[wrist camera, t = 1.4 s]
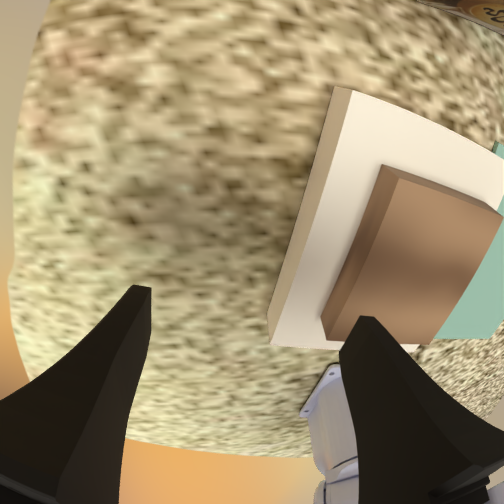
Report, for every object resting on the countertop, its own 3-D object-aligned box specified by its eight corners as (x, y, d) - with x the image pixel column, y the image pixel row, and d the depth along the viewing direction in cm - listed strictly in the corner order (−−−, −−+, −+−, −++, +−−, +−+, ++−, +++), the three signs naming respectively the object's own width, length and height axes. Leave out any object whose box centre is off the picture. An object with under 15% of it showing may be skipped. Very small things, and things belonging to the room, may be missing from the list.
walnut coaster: (418, 324, 20) (428, 344, 19) (320, 316, 19) (326, 340, 18) (484, 202, 15) (504, 217, 14) (381, 163, 14) (399, 177, 12)
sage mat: (488, 336, 27) (489, 338, 27) (400, 334, 25) (402, 337, 25) (567, 193, 18) (569, 195, 17) (495, 141, 16) (499, 142, 16)
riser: (401, 326, 25) (413, 352, 22) (266, 314, 23) (269, 344, 21) (487, 151, 16) (514, 166, 14) (334, 85, 15) (352, 90, 12)
